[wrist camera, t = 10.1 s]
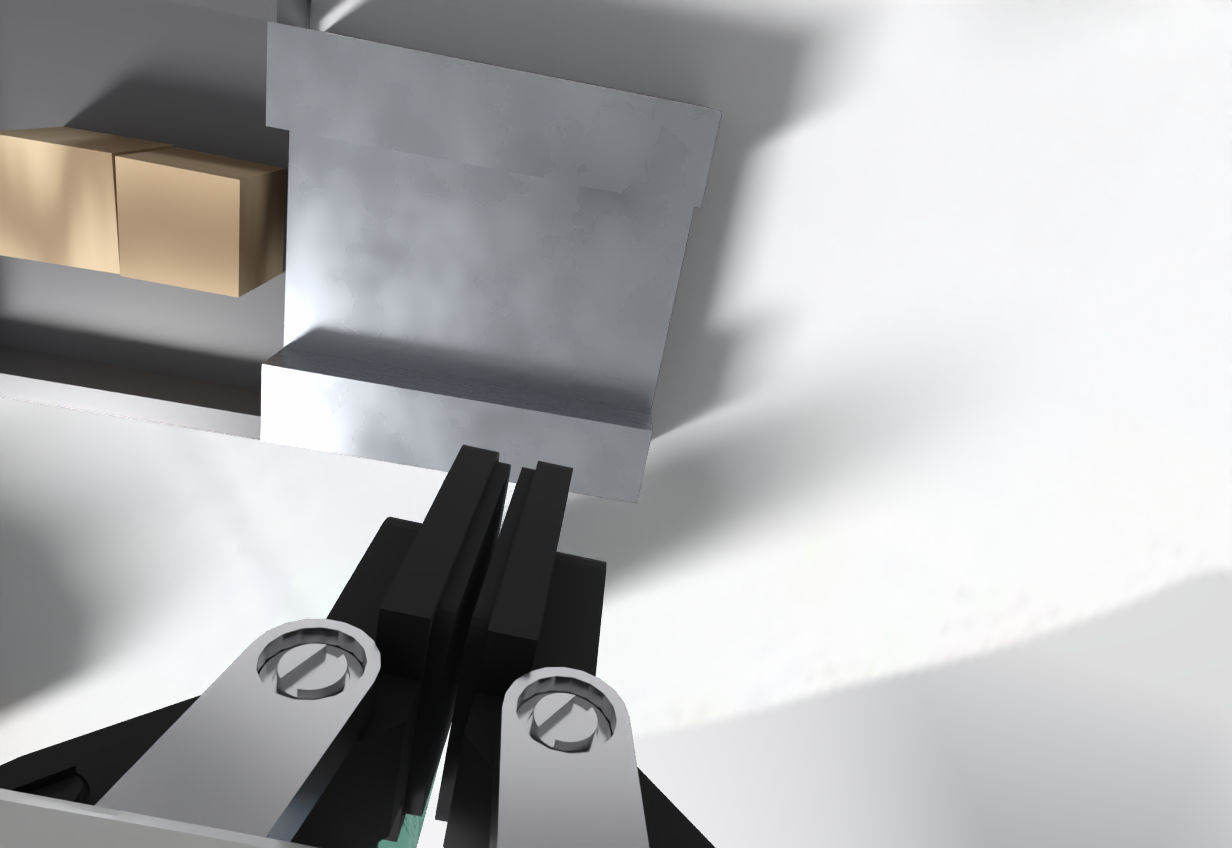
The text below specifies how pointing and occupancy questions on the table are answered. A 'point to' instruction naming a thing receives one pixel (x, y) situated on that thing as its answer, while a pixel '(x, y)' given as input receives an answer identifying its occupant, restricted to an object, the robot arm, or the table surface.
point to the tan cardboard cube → (63, 195)
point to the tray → (161, 112)
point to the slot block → (475, 258)
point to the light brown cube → (200, 220)
